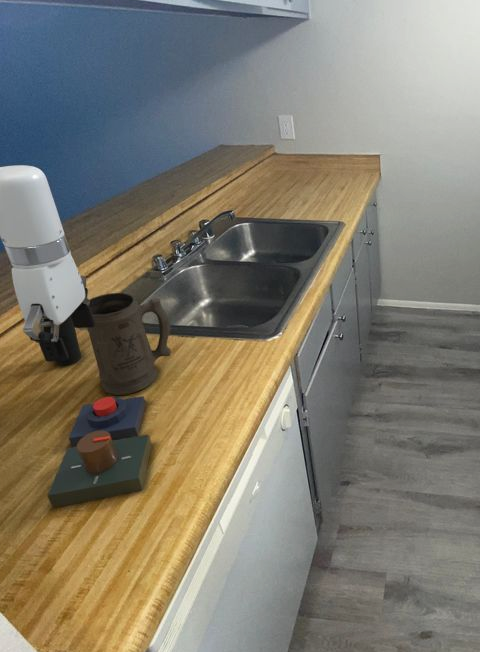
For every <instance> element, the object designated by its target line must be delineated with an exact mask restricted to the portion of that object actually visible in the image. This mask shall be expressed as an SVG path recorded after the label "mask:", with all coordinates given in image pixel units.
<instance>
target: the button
mask: <svg viewBox="0 0 480 652" xmlns="http://www.w3.org/2000/svg"><path fill="white" fill-rule="evenodd" d="M93 404H94V405H93V408H94V411H95V414H96V415H97V416H99V417H102V416H107V415H109V414H111V413H113V412H114V411H116V409H117V405H116V402H115V399H114V398H112V396H106V397H101V398H100V399H97V400H96V401H95V402H94V403H93Z"/></svg>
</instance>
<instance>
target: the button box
mask: <svg viewBox="0 0 480 652" xmlns="http://www.w3.org/2000/svg"><path fill="white" fill-rule="evenodd" d="M111 397H112V396H111ZM112 398H114V399H115V402H116V405H117V409H116V411H114V412H113V413H111V414H109V415H107V416H102V417H99V416H97V415H96V414H95V411H94V408H93V405H94V403H90V404H83V405H82V406H81V408H80V410H79V413H78V415H77V418H76V420H75V422H74V424H73V426H72V429H71V431H70V434H69V435H68V440H69V443H70V447H71V448H73V447H77V444H78V442H79V440H80V439H81V438H83V437H84V436H85V435H87V434H89V433H91V432H95V431H101V430H102V431H107V432H109V433H110V436H111V438H112V441H113V440H119V439H125V438H131V437H136V436H139V433H140V428H141V424H142V421H143V417H144V413H145V409H146V405H147V403H146V400H145V396H144V395H142V396H135V397H130V398H129V397H128V398H121V397H117V396H113V397H112Z"/></svg>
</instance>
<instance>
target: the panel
mask: <svg viewBox="0 0 480 652" xmlns="http://www.w3.org/2000/svg"><path fill="white" fill-rule="evenodd" d="M112 441H113V444H114V447H115V450H116V453H117V456H118V458H117V461H116V463H115V464H114V465H113V466H112V467H111V468H110V469H108V470H106V471H104V472H101V473H97V474H91V473H88V472H87V471H86V470H85V467H84V465H83V462H82V460H81V457H80V455H79V452H78V450H77V446H73V447H67V448H66V450H65V453H64V455H63V458H62V460H61V462H60V465H59V467H58V469H57V472H56V474H55V475H54V476H55V477H54V478H53V481H52V484H51V486H50V488H49V490H48V492H47V498H48V500H49V502H50V504H51V506H52V508H53V509H55V508H59V507H65V506H70V505H75V504H79V503H86V502H90V501H95V500H100V499H104V498H105V499H106V498H110V497H115V496H120V495H125V494H129V493H135V492H139V491H143V489H144V483H145V480H146V475H147V470H148V466H149V461H150V458H151V453H152V450H153V449H152V448H153V444H152V441H151V437H150V434H149V433H148V434H144V435H137V436H132V437H126V438H120V439H114V440H112Z"/></svg>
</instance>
